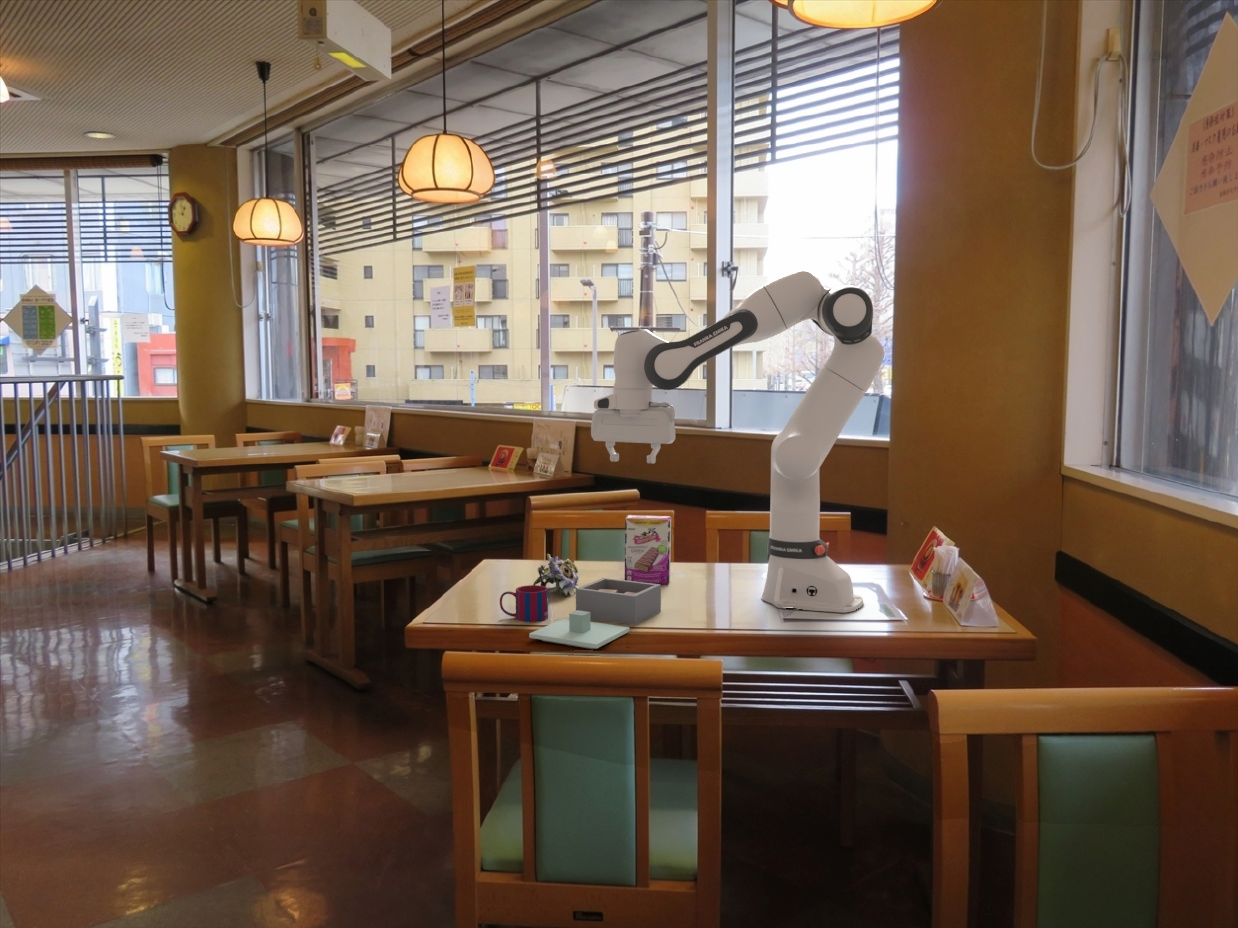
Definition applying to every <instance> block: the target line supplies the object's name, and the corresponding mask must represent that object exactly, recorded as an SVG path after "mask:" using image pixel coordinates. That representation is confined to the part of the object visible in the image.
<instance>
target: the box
mask: <svg viewBox="0 0 1238 928" xmlns="http://www.w3.org/2000/svg"><path fill="white" fill-rule="evenodd" d="M578 587H579V586H578ZM661 587H662V584H652V583H643V582H635V581H627V580H625V579H617V578H608V577H602V578H599V579H596V580H595V581H592V582H590V583H587V584H585V585H582V586H580V587H579V588H577V589H575V611H577V610H579V611H586V612H590V620H597V621H598V620H599V621H604V622H611V623H617V624H618V623H619V624H625V625H630V626H631V625H632V626H636V625H638V624H640V623H642V622H644V621H646V620H648V619H650V618H652V617H654V616H656V615H657V614H660V613H661V612H662V607H661V606H662V588H661ZM599 589H609V590H618V593H615V592H607V591H599ZM626 592H633V593H636V594H634V595H631V594H623V593H626Z"/></svg>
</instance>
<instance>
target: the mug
mask: <svg viewBox="0 0 1238 928" xmlns="http://www.w3.org/2000/svg"><path fill="white" fill-rule="evenodd" d="M505 595H512V596H513V597H515V613H514V612H509V611H507V610H506V609H505V608H504V606H503V598H504V596H505ZM499 597H500V598H499V607H500V610H501V611H502V612H503V613H504V614H505V615H506V616H507V615H508V616H510V617H514V618H515V619H516V620H517V621H518V622H523V623H539V622H544V621H546V620H548V619H549V588H548V587H547V586H540V585H538V584H536V585H533V584H529V585H521V586H517V587H516V588H515V592H514V591H504V592H503V593H502V594H501V595H500V596H499Z"/></svg>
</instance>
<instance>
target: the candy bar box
mask: <svg viewBox="0 0 1238 928" xmlns="http://www.w3.org/2000/svg"><path fill="white" fill-rule="evenodd" d="M624 524H625V525H624V529H625V530H624V532H625V533H624V580H627V581H635V582H643V583H652V584H660V585H667V586H668V585H670V581H671V555H672V554H671V552H672V551H671V548H672V546H671V544H672V543H671V541H672V539H671V538H672V536H671V535H672V517H671V516H667V515H664V516H663V515H633V514H628V515H626V517H625V522H624Z"/></svg>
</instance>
